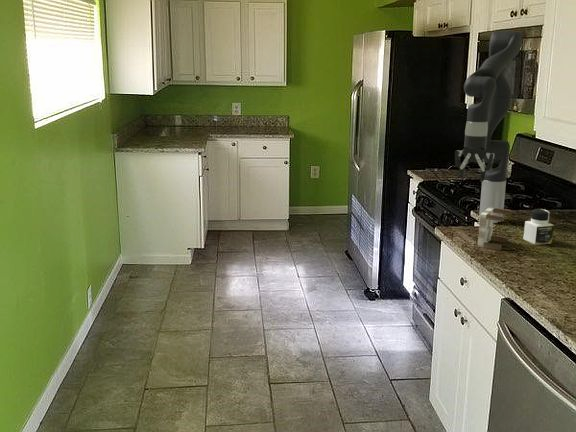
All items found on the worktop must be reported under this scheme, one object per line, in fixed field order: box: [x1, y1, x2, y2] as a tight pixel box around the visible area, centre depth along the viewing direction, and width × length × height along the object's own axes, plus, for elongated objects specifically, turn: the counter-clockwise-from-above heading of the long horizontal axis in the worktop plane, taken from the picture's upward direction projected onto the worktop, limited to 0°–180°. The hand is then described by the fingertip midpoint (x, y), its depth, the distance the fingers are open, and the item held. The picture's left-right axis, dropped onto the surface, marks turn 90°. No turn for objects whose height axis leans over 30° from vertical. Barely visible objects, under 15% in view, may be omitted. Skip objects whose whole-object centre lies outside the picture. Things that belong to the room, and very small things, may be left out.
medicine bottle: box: [523, 208, 554, 246], centre depth 223 cm, size 7×7×12 cm
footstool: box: [477, 207, 512, 251], centre depth 220 cm, size 12×8×12 cm, turn 148°
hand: (472, 180), depth 220 cm, fingers open, 6 cm apart
